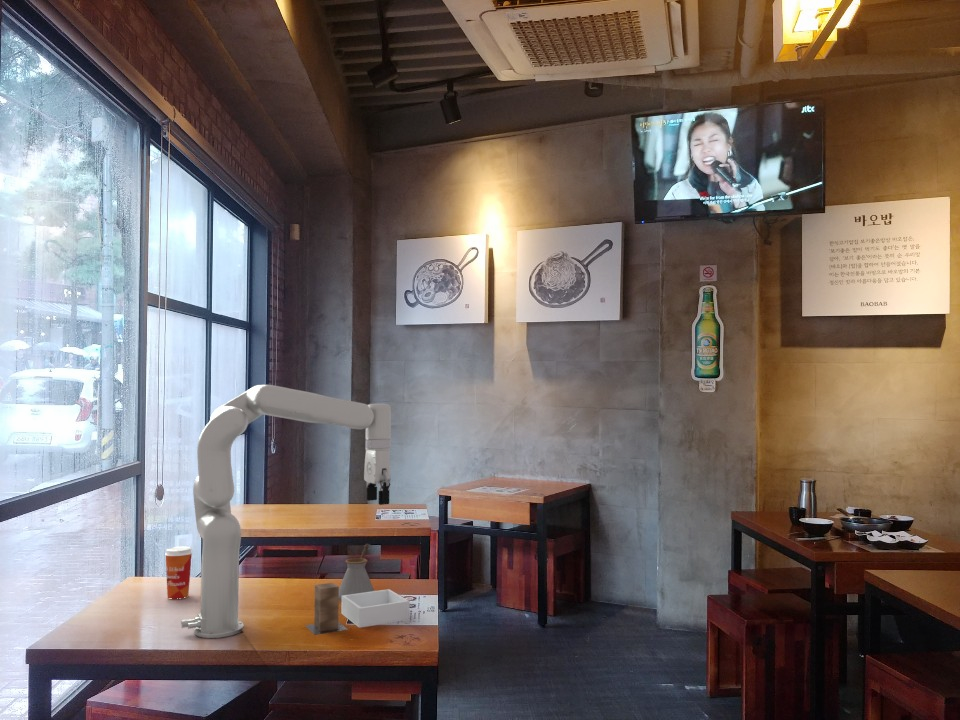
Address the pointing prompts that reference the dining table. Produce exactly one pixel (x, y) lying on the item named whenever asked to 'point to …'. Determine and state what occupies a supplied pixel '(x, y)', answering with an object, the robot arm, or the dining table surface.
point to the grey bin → (375, 608)
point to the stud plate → (316, 631)
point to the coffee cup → (178, 571)
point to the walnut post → (326, 606)
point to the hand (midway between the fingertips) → (377, 502)
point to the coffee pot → (356, 577)
